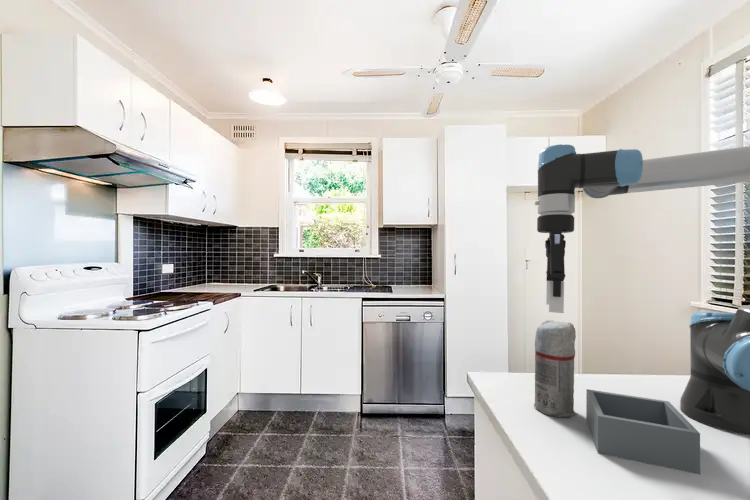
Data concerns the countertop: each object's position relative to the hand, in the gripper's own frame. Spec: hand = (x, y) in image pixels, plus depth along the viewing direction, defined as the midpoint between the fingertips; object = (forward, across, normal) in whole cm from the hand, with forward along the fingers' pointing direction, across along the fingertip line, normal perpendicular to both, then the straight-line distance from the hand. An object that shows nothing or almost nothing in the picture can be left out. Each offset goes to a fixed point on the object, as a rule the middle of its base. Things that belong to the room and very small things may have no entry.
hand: (554, 308), depth 79 cm
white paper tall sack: (+23, 0, 0) cm, 23 cm away
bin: (+23, +9, +13) cm, 28 cm away
